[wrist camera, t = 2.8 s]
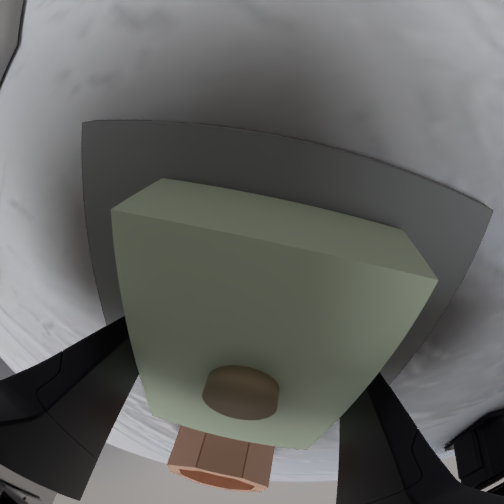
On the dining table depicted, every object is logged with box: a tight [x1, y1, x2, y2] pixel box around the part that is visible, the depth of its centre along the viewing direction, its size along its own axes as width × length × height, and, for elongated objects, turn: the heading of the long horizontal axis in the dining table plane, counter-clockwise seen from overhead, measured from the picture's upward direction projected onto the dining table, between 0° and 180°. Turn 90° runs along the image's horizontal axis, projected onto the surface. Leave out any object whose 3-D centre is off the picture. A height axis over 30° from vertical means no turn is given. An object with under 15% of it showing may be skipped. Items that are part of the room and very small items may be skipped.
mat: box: [82, 120, 493, 419], centre depth 9 cm, size 13×12×1 cm
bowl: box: [167, 425, 274, 492], centre depth 15 cm, size 7×7×4 cm
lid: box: [111, 178, 438, 450], centre depth 8 cm, size 7×9×3 cm
